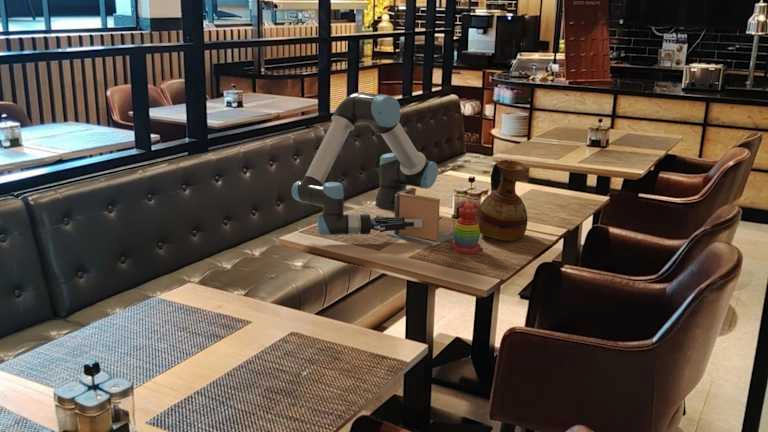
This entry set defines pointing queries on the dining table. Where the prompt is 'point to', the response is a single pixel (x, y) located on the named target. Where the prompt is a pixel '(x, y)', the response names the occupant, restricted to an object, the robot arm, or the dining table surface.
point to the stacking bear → (467, 230)
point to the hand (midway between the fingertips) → (421, 223)
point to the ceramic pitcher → (503, 204)
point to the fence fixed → (397, 202)
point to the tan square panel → (420, 215)
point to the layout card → (441, 238)
